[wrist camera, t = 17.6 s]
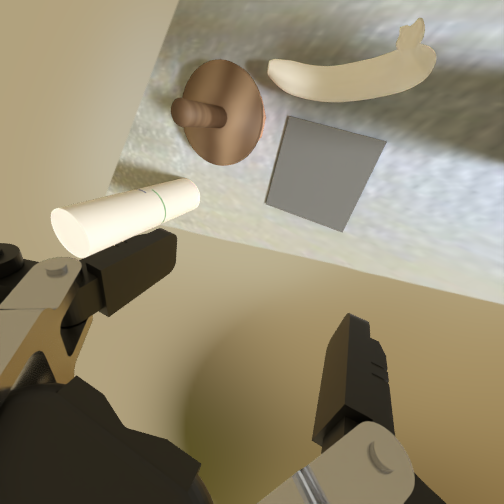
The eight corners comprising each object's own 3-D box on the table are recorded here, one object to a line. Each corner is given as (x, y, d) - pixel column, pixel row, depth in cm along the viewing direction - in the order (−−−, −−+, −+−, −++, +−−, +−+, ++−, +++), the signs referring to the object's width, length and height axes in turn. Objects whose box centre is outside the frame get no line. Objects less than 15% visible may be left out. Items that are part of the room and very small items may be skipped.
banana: (277, 68, 35) (233, 32, 23) (425, 53, 28) (473, -7, 16) (276, 106, 37) (235, 92, 25) (412, 100, 30) (446, 78, 18)
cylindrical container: (174, 173, 50) (45, 200, 30) (201, 184, 49) (85, 219, 28) (172, 204, 54) (57, 246, 33) (198, 214, 52) (93, 265, 32)
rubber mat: (386, 141, 33) (386, 141, 33) (342, 231, 41) (342, 232, 41) (290, 116, 37) (289, 115, 36) (266, 203, 45) (265, 204, 44)
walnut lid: (274, 72, 31) (243, 49, 23) (251, 175, 38) (221, 186, 30) (188, 52, 34) (133, 26, 26) (182, 151, 41) (138, 155, 33)
